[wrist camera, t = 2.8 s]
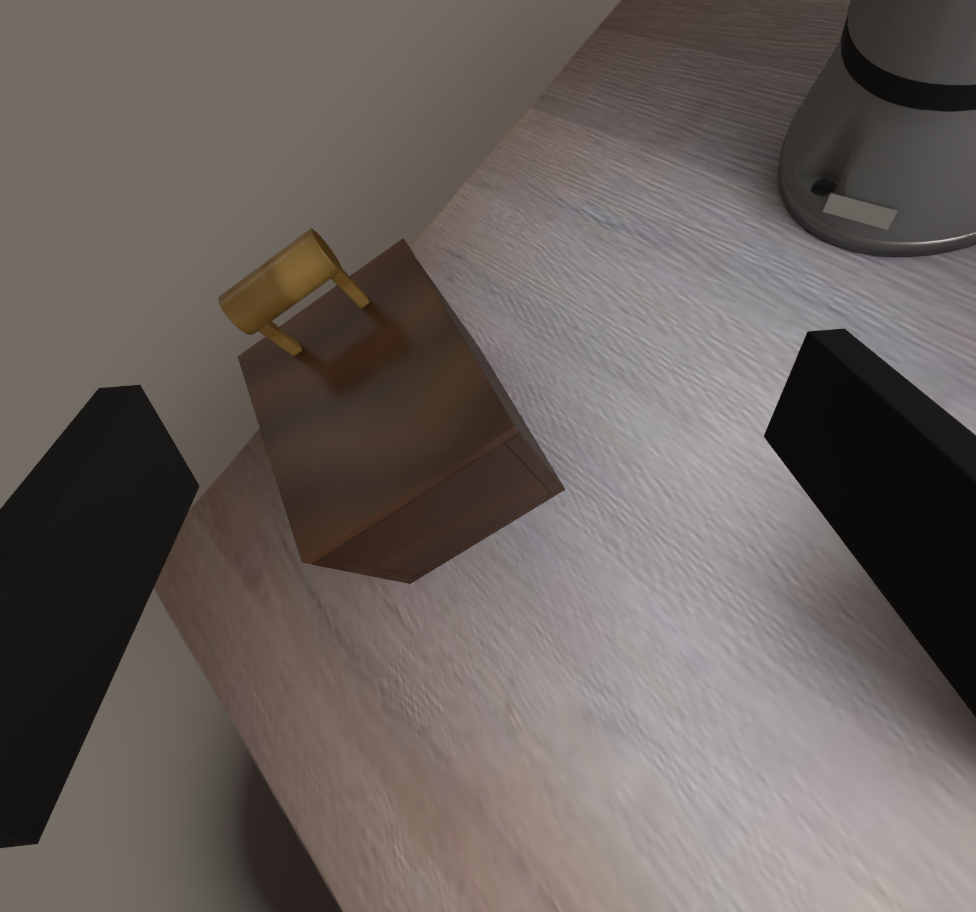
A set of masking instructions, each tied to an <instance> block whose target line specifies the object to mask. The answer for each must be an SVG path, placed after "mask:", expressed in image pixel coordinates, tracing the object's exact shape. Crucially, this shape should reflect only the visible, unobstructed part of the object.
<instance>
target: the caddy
mask: <svg viewBox="0 0 976 912" xmlns="http://www.w3.org/2000/svg"><path fill="white" fill-rule="evenodd" d="M417 261H418V260H417ZM418 262H419V261H418ZM419 264H420V263H419ZM420 266H421V264H420ZM421 267H422V266H421ZM422 269H423V271H424V272H425V274H426V276H427V277H428V279H429V281H430V282H431V284H432V286H433V288H434V289H435V291H436V293H437V294H438V296H439V298H440V299H441V301H442V303H443V304H444V306H445V308H446V309H447V311H448V313H449V314H450V316H451V318H452V319H453V321H454V323H455V324H456V326H457V328H458V329H459V331H460V333H461V335H462V336H463V338H464V340H465V341H466V343H467V345H468V346H469V348H470V350H471V351H472V353H473V355H474V356H475V358H476V360H477V361H478V363H479V365H480V366H481V368H482V370H483V371H484V373H485V375H486V376H487V378H488V380H489V382H490V383H491V385H492V387H493V388H494V390H495V392H496V393H497V395H498V397H499V398H500V400H501V402H502V403H503V405H504V407H505V408H506V410H507V412H508V413H509V415H510V417H511V418H512V420H513V422H514V424H515V425H516V427H517V429H518V430H519V433H517V434H516V435H514V436H513V437H511V438H509V439H508V440H506V441H505V442H503V443H501V444H500V445H498V446H497V447H495V448H494V449H492V450H490V451H489V452H487V453H486V454H484V455H483V456H481V457H479V458H478V459H476V460H475V461H473V462H472V463H470V464H468V465H467V466H465V467H464V468H462V469H460V470H459V471H457V472H456V473H454V474H453V475H451V476H449V477H448V478H446V479H445V480H443V481H442V482H440V483H438V484H437V485H435V486H434V487H432V488H431V489H429V490H427V491H426V492H424V493H423V494H421V495H419V496H418V497H416V498H415V499H413V500H412V501H410V502H408V503H407V504H405V505H404V506H402V507H401V508H399V509H397V510H396V511H394V512H393V513H391V514H390V515H388V516H386V517H385V518H383V519H382V520H380V521H378V522H377V523H375V524H374V525H372V526H371V527H369V528H367V529H366V530H364V531H363V532H361V533H360V534H358V535H356V536H355V537H353V538H352V539H350V540H348V541H347V542H345V543H344V544H342V545H341V546H339V547H337V548H336V549H334V550H333V551H331V552H330V553H328V554H326V555H325V556H323V557H322V558H320V559H319V560H317V561H315V562H314V563H312V565H317V566H322V567H327V568H332V569H337V570H342V571H348V572H353V573H358V574H363V575H368V576H373V577H378V578H383V579H388V580H394V581H399V582H404V583H409V584H411V583H412V582H414V581H416V580H417V579H419V578H421V577H422V576H424V575H425V574H427V573H429V572H430V571H432V570H434V569H435V568H437V567H439V566H440V565H442V564H444V563H445V562H447V561H448V560H450V559H452V558H453V557H455V556H457V555H458V554H460V553H462V552H463V551H465V550H467V549H468V548H470V547H471V546H473V545H475V544H476V543H478V542H480V541H481V540H483V539H485V538H486V537H488V536H490V535H491V534H493V533H494V532H496V531H498V530H499V529H501V528H503V527H504V526H506V525H508V524H509V523H511V522H513V521H514V520H516V519H517V518H519V517H521V516H522V515H524V514H526V513H527V512H529V511H531V510H532V509H534V508H536V507H537V506H539V505H540V504H542V503H544V502H545V501H547V500H549V499H550V498H552V497H554V496H555V495H557V494H559V493H560V492H562V491H563V490H565V488H564V486H563V485H562V483H561V481H560V480H559V478H558V476H557V475H556V473H555V472H554V470H553V468H552V467H551V465H550V463H549V462H548V460H547V458H546V457H545V455H544V453H543V452H542V450H541V448H540V447H539V445H538V444H537V442H536V440H535V439H534V437H533V435H532V434H531V432H530V430H529V429H528V427H527V425H526V424H525V422H524V420H523V419H522V417H521V416H520V414H519V412H518V411H517V409H516V407H515V406H514V404H513V402H512V401H511V399H510V397H509V396H508V394H507V393H506V391H505V389H504V388H503V386H502V384H501V383H500V381H499V379H498V378H497V376H496V374H495V373H494V371H493V369H492V368H491V366H490V365H489V363H488V361H487V360H486V358H485V356H484V355H483V353H482V351H481V350H480V348H479V347H478V345H477V344H476V342H475V341H474V339H473V338H472V337H471V335H470V334H469V332H468V331H467V329H466V328H465V327H464V325H463V324H462V322H461V321H460V320H459V318H458V317H457V315H456V314H455V312H454V311H453V310H452V308H451V307H450V305H449V304H448V303H447V301H446V300H445V298H444V297H443V295H442V294H441V293H440V291H439V290H438V288H437V287H436V285H435V284H434V283H433V281H432V280H431V278H430V277H429V276H428V274H427V273H426V271H425V270H424V268H423V267H422Z"/></svg>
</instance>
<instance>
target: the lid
mask: <svg viewBox="0 0 976 912" xmlns="http://www.w3.org/2000/svg"><path fill="white" fill-rule="evenodd" d="M329 279H332V280H333V281H334V282H335V283H336V284H337V286H336V287H334V288H333V289H331V290H330V291H329V292H327V293H326V294H325V295H323V296H322V297H320V298H319V299H317V300H316V301H315V302H314V303H312V304H311V305H309V306H308V307H306V308H305V309H304V310H302V311H301V312H299V313H298V314H297V315H295V316H294V317H292V318H291V319H290V320H288V321H287V322H285V323H284V324H283V325H281V326H280V327H278V326H277V325H276V324H274V323H273V322H272V320H274V319H275V318H277V317H278V316H279V315H281V314H282V313H283V312H285V311H286V310H288V309H289V308H290V307H292V306H293V305H294V304H296V303H297V302H299V301H300V300H302V299H303V298H304V297H306V296H307V295H309V294H310V293H311V292H312V291H314V290H315V289H317V288H318V287H320V286H321V285H322V284H324V283H325V282H327V281H328V280H329ZM218 300H219V304H220V306H221V308H222V310H223V312H224V313H225V314H226V316H227V317H228V318H229V320H231V322H232V323H233V324H234V325H235V326H236V327H238V328H239V329H240V330H241V331H243V332H245V333H247V334H249V335H252V334H254V333H256V332H257V331H259V332H260V333H262V334H263V335H265V336H266V337H264V338H263V339H262V340H260V341H259V342H258V343H256V344H255V345H253V346H252V347H251V348H249V349H248V350H246V351H245V352H244V353H242V354H241V355H239V356H238V359H239V362H240V365H241V369H242V372H243V375H244V378H245V382H246V385H247V388H248V391H249V394H250V398H251V401H252V404H253V407H254V410H255V414H256V417H257V420H258V423H259V426H260V430H261V433H262V436H263V439H264V442H265V446H266V449H267V452H268V455H269V459H270V462H271V465H272V468H273V471H274V475H275V478H276V481H277V484H278V487H279V491H280V494H281V497H282V500H283V503H284V507H285V510H286V513H287V516H288V519H289V523H290V526H291V529H292V532H293V536H294V539H295V542H296V545H297V548H298V552H299V555H300V558H301V561H302V562H303V563H308V564H312V563H314V562H315V561H317V560H319V559H320V558H322V557H323V556H325V555H326V554H328V553H330V552H331V551H333V550H334V549H336V548H337V547H339V546H341V545H342V544H344V543H345V542H347V541H348V540H350V539H352V538H353V537H355V536H356V535H358V534H360V533H361V532H363V531H364V530H366V529H367V528H369V527H371V526H372V525H374V524H375V523H377V522H378V521H380V520H382V519H383V518H385V517H386V516H388V515H390V514H391V513H393V512H394V511H396V510H397V509H399V508H401V507H402V506H404V505H405V504H407V503H408V502H410V501H412V500H413V499H415V498H416V497H418V496H419V495H421V494H423V493H424V492H426V491H427V490H429V489H431V488H432V487H434V486H435V485H437V484H438V483H440V482H442V481H443V480H445V479H446V478H448V477H449V476H451V475H453V474H454V473H456V472H457V471H459V470H460V469H462V468H464V467H465V466H467V465H468V464H470V463H472V462H473V461H475V460H476V459H478V458H479V457H481V456H483V455H484V454H486V453H487V452H489V451H490V450H492V449H494V448H495V447H497V446H498V445H500V444H501V443H503V442H505V441H506V440H508V439H509V438H511V437H513V436H514V435H516V434H517V433H519V430H518V429H517V427H516V425H515V424H514V422H513V420H512V418H511V417H510V415H509V413H508V412H507V410H506V408H505V407H504V405H503V403H502V402H501V400H500V398H499V397H498V395H497V393H496V392H495V390H494V388H493V387H492V385H491V383H490V382H489V380H488V378H487V376H486V375H485V373H484V371H483V370H482V368H481V366H480V365H479V363H478V361H477V360H476V358H475V356H474V355H473V353H472V351H471V350H470V348H469V346H468V345H467V343H466V341H465V340H464V338H463V336H462V335H461V333H460V331H459V329H458V328H457V326H456V324H455V323H454V321H453V319H452V318H451V316H450V314H449V313H448V311H447V309H446V308H445V306H444V304H443V303H442V301H441V299H440V298H439V296H438V294H437V293H436V291H435V289H434V288H433V286H432V284H431V282H430V281H429V279H428V277H427V276H426V274H425V272H424V271H423V269H422V267H421V266H420V264H419V262H418V261H417V259H416V257H415V256H414V254H413V252H412V251H411V249H410V247H409V246H408V244H407V243H406V241H405V240H404V239H401V240H400V241H398V242H397V243H396V244H394V245H393V246H392V247H390V248H389V249H387V250H386V251H385V252H383V253H382V254H380V255H379V256H378V257H376V258H375V259H373V260H372V261H371V262H369V263H368V264H366V265H365V266H364V267H362V268H361V269H359V270H358V271H357V272H355V273H354V274H352V275H351V276H350V277H349V276H348V275H347V273H346V272H345V271H344V270H343V269H342V268H341V265H340V263H339V261H338V259H337V258H336V256H335V255H334V253H333V252H332V250H331V249H330V248H329V246H328V245H327V243H326V242H325V241H324V240H323V239H322V237H321V236H320V235H319V234H318V233H317V232H316V231H314V230H313V229H309V230H308V231H307V232H305V233H304V234H303V235H301V236H300V237H299V238H297V239H296V240H294V241H293V242H292V243H290V244H289V245H288V246H286V247H285V248H284V249H282V250H281V251H280V252H278V253H277V254H275V255H274V256H273V257H271V258H270V259H269V260H267V261H266V262H265V263H263V264H262V265H261V266H259V267H258V268H257V269H255V270H254V271H253V272H251V273H250V274H249V275H247V276H246V277H244V278H243V279H242V280H240V281H239V282H238V283H236V284H235V285H234V286H232V287H231V288H230V289H228V290H227V291H225V292H224V293H223V294H221V295H220V296H219V298H218Z"/></svg>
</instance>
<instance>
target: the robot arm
mask: <svg viewBox="0 0 976 912" xmlns="http://www.w3.org/2000/svg"><path fill="white" fill-rule="evenodd" d="M778 183H779V189H780V193H781V196H782V198H783V201H784V203H785V205H786V206H787V208H788V210H789V211H790V213H791V214H792V215H793V217H794V218H795V219H796V220H797V221H798V222H799V223H800V224H801V225H802V226H804V227H805V228H806V229H807V230H808V231H810V232H811V233H813V234H814V235H816V236H817V237H819V238H821V239H823V240H825V241H827V242H829V243H832V244H834V245H836V246H839V247H842V248H845V249H848V250H851V251H856V252H860V253H864V254H871V255H877V256H889V257H914V256H926V255H934V254H940V253H945V252H951V251H955V250H959V249H962V248H966V247H969V246H972V245H975V244H976V0H851V2H850V6H849V11H848V14H847V18H846V22H845V26H844V29H843V33H842V36H841V40H840V43H839V44H838V46H837V47H836V49H835V51H834V52H833V54H832V56H831V57H830V59H829V61H828V62H827V64H826V65H825V67H824V69H823V70H822V72H821V74H820V75H819V77H818V78H817V80H816V82H815V83H814V85H813V87H812V88H811V90H810V91H809V93H808V95H807V96H806V98H805V100H804V101H803V103H802V104H801V106H800V108H799V109H798V111H797V113H796V114H795V116H794V118H793V120H792V122H791V125H790V127H789V130H788V132H787V135H786V137H785V140H784V143H783V147H782V152H781V157H780V162H779V168H778ZM764 437H765V439H766V440H767V441H768V443H769V444H770V445H771V447H772V448H773V449H774V451H775V452H776V453H777V455H778V456H779V457H780V459H781V460H782V461H783V463H784V464H785V465H786V467H787V468H788V469H789V471H790V472H791V473H792V475H793V476H794V477H795V479H796V480H797V481H798V483H799V484H800V485H801V487H802V488H803V489H804V491H805V492H806V493H807V494H808V496H809V497H810V498H811V500H812V501H813V502H814V504H815V505H816V506H817V508H818V509H819V510H820V512H821V513H822V514H823V516H824V517H825V518H826V520H827V521H828V522H829V524H830V525H831V526H832V528H833V529H834V530H835V532H836V533H837V534H838V536H839V537H840V538H841V540H842V541H843V542H844V544H845V545H846V546H847V548H848V549H849V550H850V552H851V553H852V554H853V555H854V557H855V558H856V559H857V561H858V562H859V563H860V565H861V566H862V567H863V569H864V570H865V571H866V573H867V574H868V575H869V577H870V578H871V579H872V581H873V582H874V583H875V585H876V586H877V587H878V589H879V590H880V591H881V593H882V594H883V595H884V597H885V598H886V599H887V601H888V602H889V603H890V605H891V606H892V607H893V609H894V610H895V611H896V613H897V614H898V615H899V617H900V618H901V619H902V620H903V622H904V623H905V624H906V626H907V627H908V628H909V630H910V631H911V632H912V634H913V635H914V636H915V638H916V639H917V640H918V642H919V643H920V644H921V646H922V647H923V648H924V650H925V651H926V652H927V654H928V655H929V656H930V658H931V659H932V660H933V662H934V663H935V664H936V666H937V667H938V668H939V670H940V671H941V672H942V674H943V675H944V676H945V678H946V679H947V680H948V681H949V683H950V684H951V685H952V687H953V688H954V689H955V691H956V692H957V693H958V695H959V696H960V697H961V699H962V700H963V701H964V703H965V704H966V705H967V707H968V708H969V709H970V711H971V712H972V713H973V715H974V716H975V717H976V435H974V434H973V433H972V432H971V431H970V430H968V429H967V428H966V427H965V426H963V425H962V424H961V423H960V422H959V421H957V420H956V419H955V418H954V417H952V416H951V415H950V414H949V413H947V412H946V411H945V410H944V409H943V408H941V407H940V406H939V405H938V404H936V403H935V402H934V401H933V400H931V399H930V398H929V397H928V396H927V395H925V394H924V393H923V392H922V391H920V390H919V389H918V388H917V387H916V386H914V385H913V384H912V383H911V382H909V381H908V380H907V379H906V378H904V377H903V376H902V375H901V374H900V373H898V372H897V371H896V370H895V369H893V368H892V367H891V366H890V365H888V364H887V363H886V362H885V361H884V360H882V359H881V358H880V357H879V356H877V355H876V354H875V353H874V352H872V351H871V350H870V349H869V348H868V347H866V346H865V345H864V344H863V343H861V342H860V341H859V340H858V339H857V338H855V337H854V336H853V335H852V334H850V333H849V332H848V331H847V330H845V329H834V330H822V331H809V332H807V334H806V337H805V339H804V342H803V344H802V346H801V349H800V351H799V353H798V356H797V358H796V361H795V363H794V365H793V368H792V370H791V373H790V375H789V377H788V380H787V382H786V384H785V387H784V389H783V392H782V394H781V396H780V399H779V401H778V404H777V406H776V408H775V411H774V413H773V415H772V418H771V420H770V423H769V425H768V427H767V430H766V432H765V435H764ZM198 488H199V484H198V483H197V481H196V479H195V478H194V476H193V474H192V472H191V471H190V469H189V468H188V466H187V464H186V462H185V461H184V459H183V457H182V455H181V454H180V452H179V450H178V449H177V447H176V445H175V443H174V442H173V440H172V438H171V437H170V435H169V433H168V431H167V430H166V428H165V426H164V425H163V423H162V421H161V420H160V418H159V416H158V414H157V413H156V411H155V410H154V408H153V406H152V404H151V402H150V401H149V399H148V397H147V396H146V394H145V392H144V391H143V389H142V387H141V385H133V386H120V387H108V388H99V389H98V390H97V391H96V392H95V394H94V395H93V396H92V397H91V399H90V400H89V401H88V402H87V403H86V405H85V406H84V407H83V408H82V410H81V411H80V412H79V413H78V415H77V416H76V417H75V418H74V419H73V421H72V422H71V423H70V424H69V426H68V427H67V428H66V429H65V430H64V432H63V433H62V434H61V435H60V437H59V438H58V439H57V440H56V441H55V443H54V444H53V445H52V446H51V448H50V449H49V450H48V451H47V453H46V454H45V455H44V456H43V457H42V459H41V460H40V461H39V463H38V464H37V465H36V466H35V467H34V468H33V470H32V471H31V472H30V474H29V475H28V476H27V477H26V478H25V480H24V481H23V482H22V483H21V485H20V486H19V487H18V488H17V489H16V491H15V492H14V493H13V494H12V495H11V497H10V498H9V499H8V500H7V502H6V503H5V504H4V506H3V507H2V508H1V509H0V848H5V847H14V846H23V845H31V844H38V842H39V840H40V837H41V835H42V833H43V831H44V829H45V826H46V824H47V822H48V820H49V818H50V815H51V813H52V811H53V809H54V806H55V804H56V802H57V800H58V798H59V795H60V793H61V791H62V789H63V786H64V784H65V782H66V780H67V778H68V776H69V773H70V771H71V769H72V767H73V765H74V762H75V760H76V758H77V756H78V754H79V751H80V749H81V747H82V745H83V742H84V740H85V738H86V736H87V734H88V731H89V729H90V727H91V725H92V723H93V720H94V718H95V716H96V714H97V712H98V709H99V707H100V705H101V703H102V700H103V698H104V696H105V694H106V692H107V689H108V687H109V685H110V682H111V680H112V678H113V676H114V674H115V672H116V670H117V667H118V665H119V663H120V661H121V658H122V656H123V654H124V652H125V650H126V647H127V645H128V643H129V641H130V639H131V636H132V634H133V632H134V630H135V628H136V625H137V623H138V621H139V619H140V617H141V614H142V612H143V610H144V608H145V606H146V603H147V601H148V599H149V597H150V594H151V592H152V590H153V588H154V586H155V583H156V581H157V579H158V577H159V575H160V572H161V570H162V568H163V566H164V564H165V561H166V559H167V557H168V555H169V553H170V550H171V548H172V546H173V544H174V541H175V539H176V537H177V535H178V533H179V530H180V528H181V526H182V524H183V522H184V519H185V517H186V515H187V513H188V511H189V508H190V506H191V504H192V502H193V499H194V497H195V495H196V493H197V491H198Z"/></svg>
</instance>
